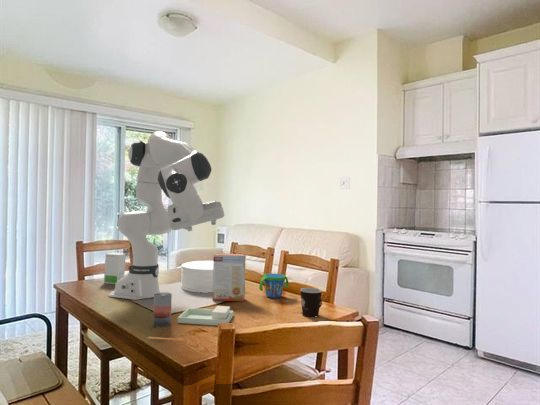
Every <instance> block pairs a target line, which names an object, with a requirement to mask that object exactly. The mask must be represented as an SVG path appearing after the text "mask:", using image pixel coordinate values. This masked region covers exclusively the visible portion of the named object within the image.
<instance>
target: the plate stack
mask: <svg viewBox="0 0 540 405" xmlns="http://www.w3.org/2000/svg"><path fill="white" fill-rule="evenodd" d="M213 263H214V260H194V261H193V260H192V261H188V262H187V261H186V262H184V263H182V264H181V270H180V271H181V276H180V278H181V279H180V282H181V284H180V288H181V289H182V290H184V291H186V292H193V293H200V292H203V293H205V294H207V293H208V292H213ZM208 294H209V293H208Z"/></svg>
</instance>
